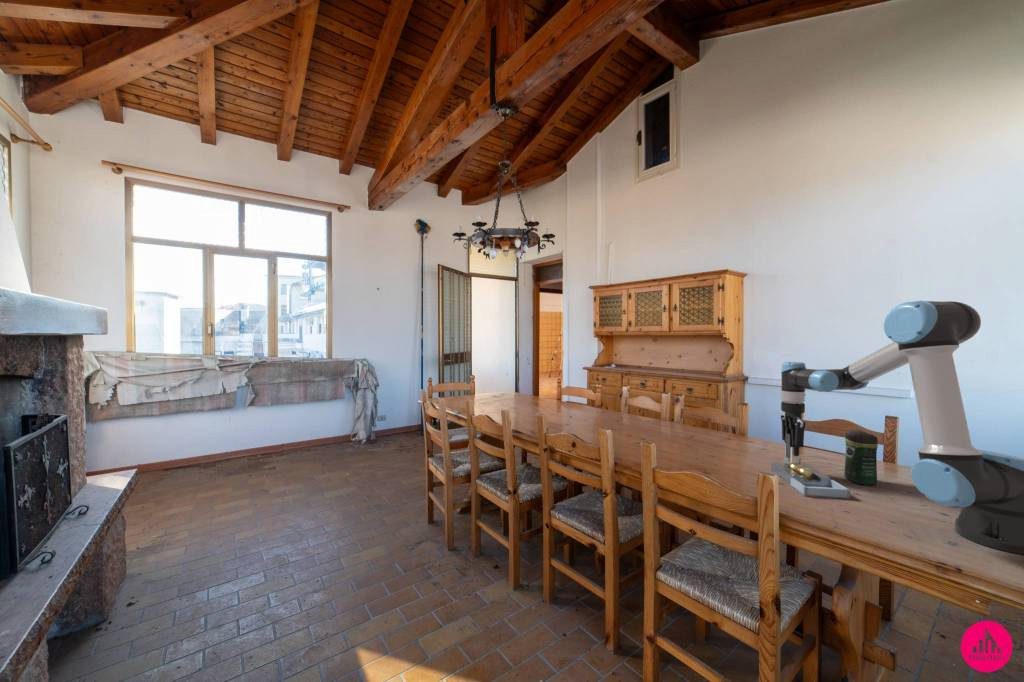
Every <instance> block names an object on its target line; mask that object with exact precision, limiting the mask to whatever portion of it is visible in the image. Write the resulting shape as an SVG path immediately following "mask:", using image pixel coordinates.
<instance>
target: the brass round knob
mask: <svg viewBox="0 0 1024 682" xmlns="http://www.w3.org/2000/svg"><path fill="white" fill-rule="evenodd" d="M800 467H803V465H801V464H797V463H790V469H791V470H793V471H794V472H796V473H797V474H799V468H800Z"/></svg>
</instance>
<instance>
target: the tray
mask: <svg viewBox="0 0 1024 682" xmlns="http://www.w3.org/2000/svg"><path fill="white" fill-rule="evenodd" d="M790 487H791V488H793V489H794V490H796V491H797V492H798V493H800V494H801V495H802V496H803V497H807V498H808V497H809V496H810V497H811V498H812V497H813V498H831V499H843V500H844V499H848V500H850V499H851V489H849V488H847V487H846V486H844V485H842V484H841V483H839V482H837V481H836V480H834V479H830V487H825V486H806V485H803V484H801V483H800V482H798V481H797V480H796V479H794V478H791V484H790Z"/></svg>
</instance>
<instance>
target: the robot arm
mask: <svg viewBox="0 0 1024 682" xmlns="http://www.w3.org/2000/svg"><path fill="white" fill-rule="evenodd" d="M883 321H884V322H883V331H884V333H885V335H886V337H887V338H888V339H889V340H891V343H888V344H887V345H885V346H883V347H881V348H879V349H877V350H876V351H874V352H872V353H870V354H868V355H866V356H865V357H863V358H861V359H858V360H857V361H855V362H853V363H851V364H849V365H846V367H844V368H841V369H840V368H836V369H835V368H831V369H828V368H827V369H815V368H814V369H812V368H807V367H806V363H804V362H801V361H784V362H783V363H782V364H781V372H780V374H781V389H780V390H781V391H780V394H781V396H780V400H781V402H780V410H781V411H782V412H784V414H782V415H780V420H781V441H784V444H785V447H784V448H785V449H784V450H785V451H784V453H785V454H784V455H785V456H786V433H791V438H792V445H790V447H791V455H790V463H797V464H799V458H800V448H803V447H804V439H805V427H806V422H805V421H802V418H801V415H802V414H804V413H805V412H806V408H805V407H806V405H805V403H804V402H805V401H806V400H805V398H806V393H805V392H806V390H811V391H812V390H813V391H817V392H821V393H823V392H825V393H830V392H833V391H840V390H843V391H847V390H848V391H849V390H850V391H854V390H861V389H864V388H866V387H867V385H868V384H869V383H870V382H871V381H873V380H875V379H877V378H879V377H881V376H883V375H886V374H888V373H890V372H892V371H895V370H897V369H899V368H901V367H903V366H906V365H907V364H908V366H909V369H910V375H911V381H912V385H913V391H914V396H915V400H916V406H917V412H918V416H919V420H920V421H919V422H920V426H921V427H920V429H921V432H922V436H923V437H922V438H923V441H924V442H923V443H924V444H923V445H922V446H921V447H920V448H919V449H918V450H917V451H918V457H919V460H918V461H916V462H915V463H914V465H912V466H911V470H910V476H911V480H912V482H913V484H914V487H916V489H917V490H918V491H919V492H920V493H921V494H923V495H924V496H925V498H927V499H928V500H930V501H931V502H933V503H936V504H938V505H941V506H945V507H959V508H961V510H960V512H959V515H958V517H957V518H956V519H954V531H955V532H956V533H958V535H960V536H962V537H963V538H965V539H967V540H969V541H972V542H974V543H978V544H979V545H982V546H984V547H985V546H986V547H989V548H992V549H995V550H1000V551H1003V552H1009V553H1014V554H1020V555H1024V458H1022V457H1018V456H1014V455H1008V454H1005V453H999V452H995V451H989V450H984V449H983V450H982V449H977V448H975V447H974V446H973V445H972V442H971V441H972V440H971V436H970V431H969V427H968V422H967V418H966V412H965V408H964V403H963V398H962V393H961V392H962V391H961V389H960V384H959V383H960V382H959V380H958V374H957V371H956V370H957V369H956V366H955V365H956V364H955V360H954V356H953V354H954V353H955V351H957V350H958V349H959V348H960V344H962V343H964V342H967V341H968V340H970V339H971V338H973V337H974V336H975V335H976V334H977V333H978V331H979V330H980V328H981V325H982V319H981V316H980V314H979V312H978V311H977V310H976V309H975V308H973V306H971V305H968V304H966V303H963V302H959V301H951V300H949V301H934V300H931V301H930V300H928V301H927V300H917V301H907V302H902V303H900V304H898V305H896V306H895V307H893V308H892V309H891V311H889V312H888V313H887V315H886V317H885V319H884V320H883Z"/></svg>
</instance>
